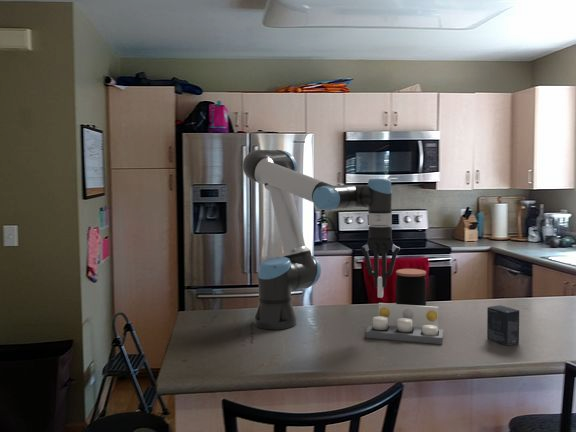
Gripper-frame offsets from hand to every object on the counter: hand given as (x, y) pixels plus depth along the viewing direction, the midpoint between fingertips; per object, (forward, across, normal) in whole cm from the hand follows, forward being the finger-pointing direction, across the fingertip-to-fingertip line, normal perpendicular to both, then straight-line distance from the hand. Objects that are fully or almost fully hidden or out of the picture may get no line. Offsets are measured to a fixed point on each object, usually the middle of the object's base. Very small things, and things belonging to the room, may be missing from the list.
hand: (380, 296), depth 171 cm
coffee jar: (+13, +8, +20) cm, 25 cm away
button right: (+12, +16, 0) cm, 20 cm away
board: (+13, +8, 0) cm, 15 cm away
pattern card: (+13, +8, +10) cm, 18 cm away
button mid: (+11, +8, 0) cm, 13 cm away
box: (+13, +38, +4) cm, 40 cm away
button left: (+11, 0, 0) cm, 11 cm away
